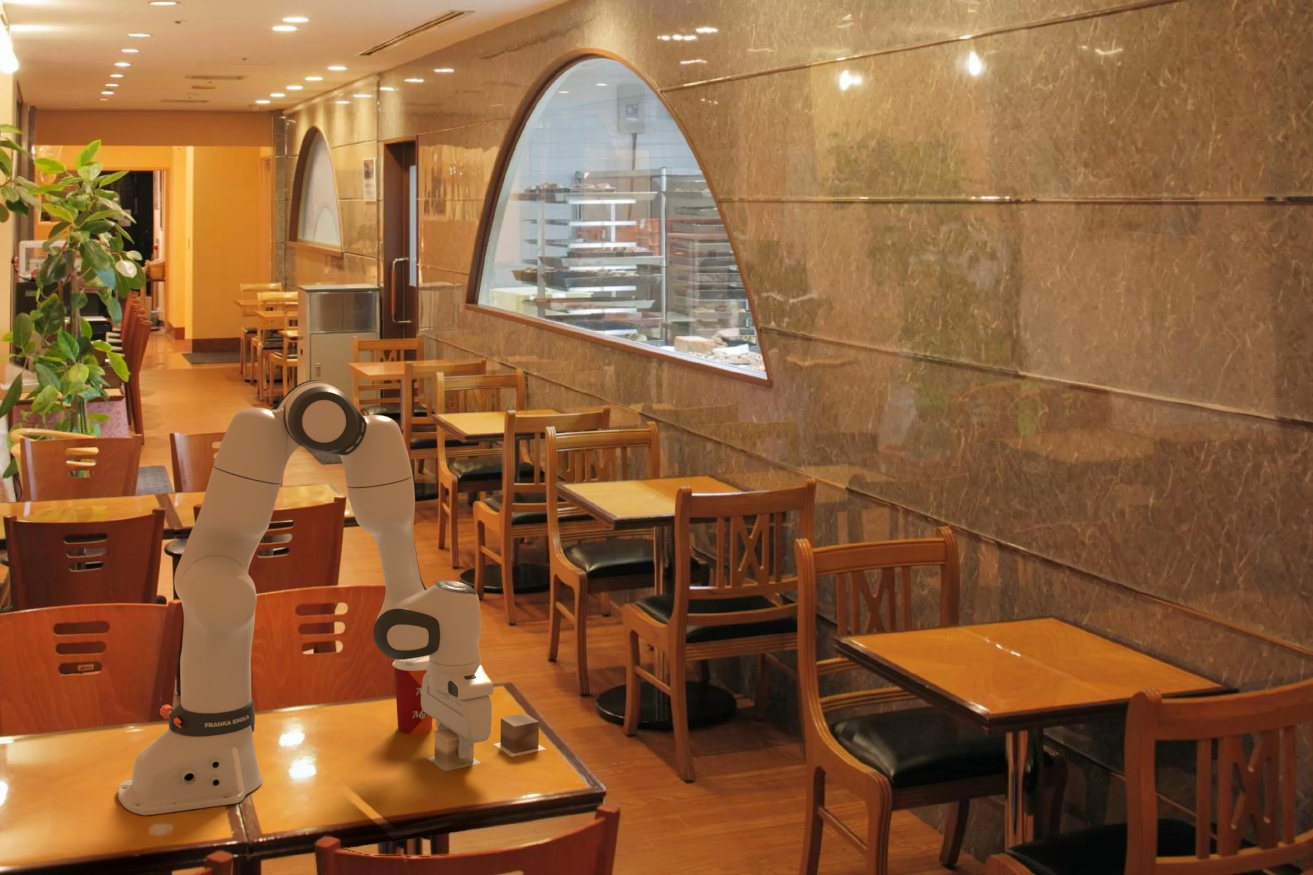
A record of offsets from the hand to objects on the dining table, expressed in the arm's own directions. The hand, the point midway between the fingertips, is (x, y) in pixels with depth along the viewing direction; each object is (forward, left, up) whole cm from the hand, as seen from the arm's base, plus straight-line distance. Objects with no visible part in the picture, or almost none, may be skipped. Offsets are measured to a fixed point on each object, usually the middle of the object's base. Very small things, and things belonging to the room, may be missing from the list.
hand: (453, 750), depth 234 cm
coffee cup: (+1, +18, -3) cm, 18 cm away
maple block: (0, 0, -2) cm, 2 cm away
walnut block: (+13, 0, -2) cm, 13 cm away
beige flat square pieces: (+7, 0, -3) cm, 8 cm away
